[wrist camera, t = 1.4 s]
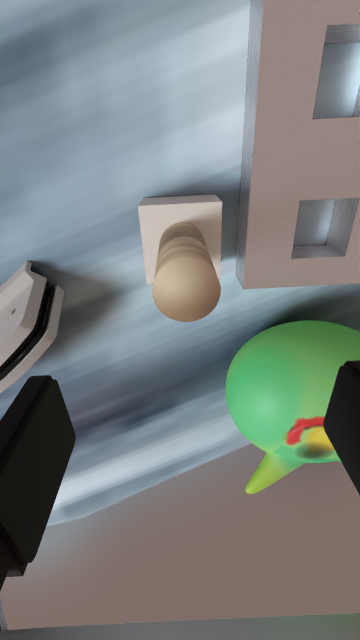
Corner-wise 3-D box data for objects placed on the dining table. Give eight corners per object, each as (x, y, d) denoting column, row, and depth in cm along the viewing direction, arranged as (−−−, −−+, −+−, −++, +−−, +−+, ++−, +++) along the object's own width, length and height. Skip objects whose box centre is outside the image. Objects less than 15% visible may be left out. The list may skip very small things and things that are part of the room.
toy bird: (371, 297, 34) (489, 382, 21) (335, 399, 43) (404, 504, 30) (221, 301, 34) (250, 389, 21) (215, 403, 42) (233, 509, 30)
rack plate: (250, -5, 21) (267, -38, 18) (439, -15, 21) (494, -50, 18) (235, 274, 32) (243, 290, 29) (359, 268, 32) (383, 282, 29)
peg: (157, 223, 24) (149, 261, 16) (204, 221, 24) (221, 257, 16) (161, 268, 26) (155, 323, 18) (204, 266, 26) (219, 320, 18)
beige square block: (143, 198, 28) (138, 206, 24) (214, 194, 28) (222, 201, 24) (150, 266, 31) (146, 284, 27) (213, 263, 31) (220, 280, 27)
